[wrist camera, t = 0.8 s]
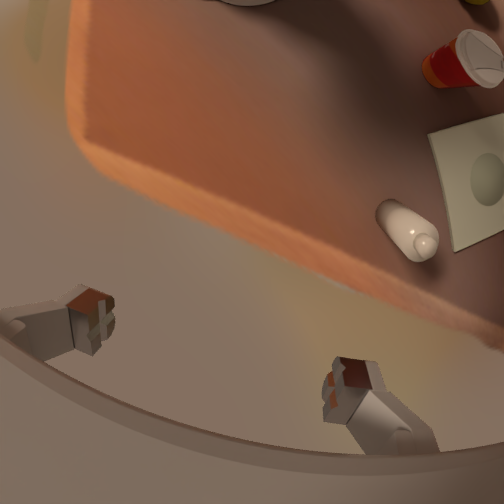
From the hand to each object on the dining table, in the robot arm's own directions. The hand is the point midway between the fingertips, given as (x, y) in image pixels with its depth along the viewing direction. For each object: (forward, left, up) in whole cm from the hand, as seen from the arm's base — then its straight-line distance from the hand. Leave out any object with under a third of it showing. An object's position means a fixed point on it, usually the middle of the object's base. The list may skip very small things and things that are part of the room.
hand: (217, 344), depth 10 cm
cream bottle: (+11, +15, -35) cm, 40 cm away
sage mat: (+11, +35, -35) cm, 51 cm away
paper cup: (-8, +31, -35) cm, 48 cm away
